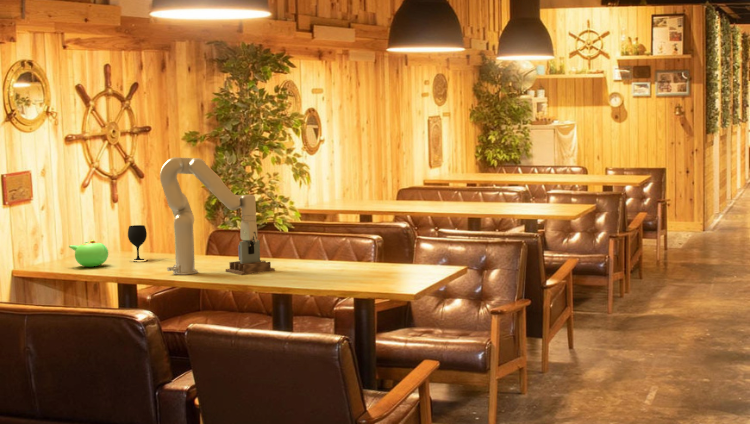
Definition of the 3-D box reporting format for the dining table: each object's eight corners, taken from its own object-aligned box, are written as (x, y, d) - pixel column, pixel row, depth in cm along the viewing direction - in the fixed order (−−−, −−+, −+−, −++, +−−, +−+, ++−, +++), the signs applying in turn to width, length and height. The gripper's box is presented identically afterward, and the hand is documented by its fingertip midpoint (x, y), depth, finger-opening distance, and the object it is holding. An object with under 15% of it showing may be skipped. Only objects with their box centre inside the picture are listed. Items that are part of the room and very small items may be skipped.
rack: (241, 274, 486) (241, 265, 485) (225, 271, 498) (225, 262, 497) (274, 270, 498) (274, 261, 498) (258, 267, 511) (257, 258, 510)
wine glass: (127, 260, 545) (125, 225, 544) (145, 259, 550) (144, 224, 548) (130, 262, 536) (129, 227, 534) (149, 261, 540) (148, 226, 539)
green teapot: (87, 270, 510) (86, 242, 509) (68, 267, 521) (67, 240, 519) (114, 265, 525) (113, 239, 523) (95, 263, 535) (94, 237, 534)
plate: (242, 264, 493) (241, 241, 492) (240, 264, 495) (239, 241, 494) (260, 262, 500) (259, 240, 499) (258, 262, 502) (257, 239, 501)
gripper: (234, 218, 499) (235, 253, 501) (250, 220, 487) (252, 255, 489) (246, 217, 504) (248, 251, 506) (263, 218, 492) (264, 254, 494)
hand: (250, 253), depth 497 cm, fingers closed on plate, 2 cm apart
